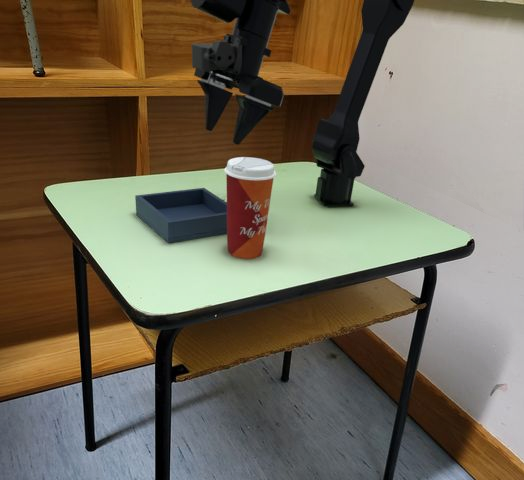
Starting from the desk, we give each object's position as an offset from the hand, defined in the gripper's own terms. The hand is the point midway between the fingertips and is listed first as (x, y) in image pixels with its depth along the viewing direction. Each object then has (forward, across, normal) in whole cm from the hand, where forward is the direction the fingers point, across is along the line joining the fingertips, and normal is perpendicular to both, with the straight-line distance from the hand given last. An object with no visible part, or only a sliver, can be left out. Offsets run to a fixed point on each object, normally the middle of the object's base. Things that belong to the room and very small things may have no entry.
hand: (221, 137), depth 89 cm
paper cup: (+15, +14, +1) cm, 20 cm away
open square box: (+15, 0, -2) cm, 15 cm away
